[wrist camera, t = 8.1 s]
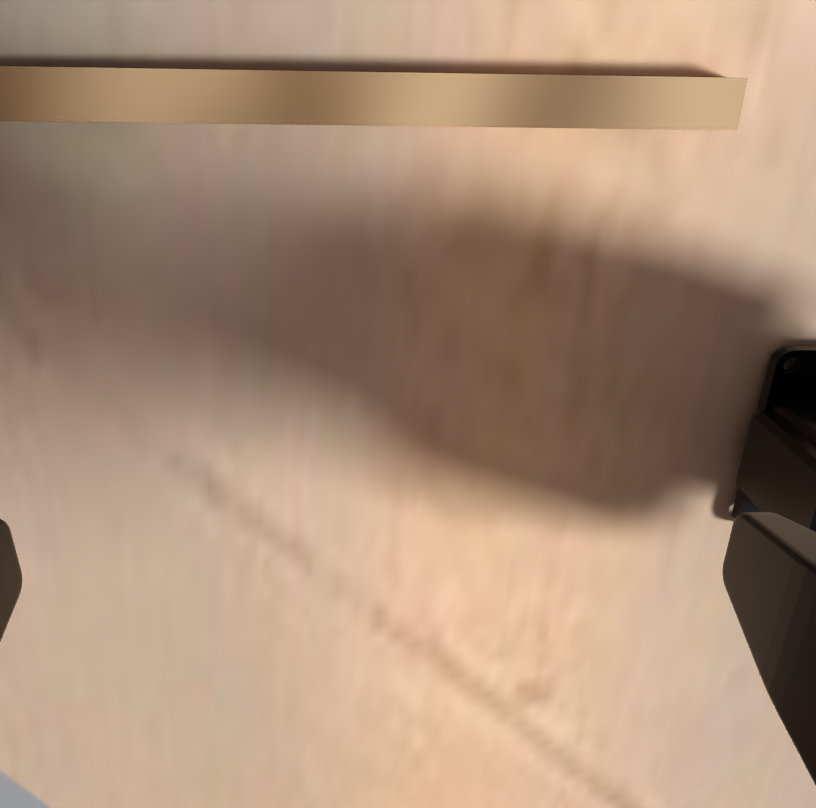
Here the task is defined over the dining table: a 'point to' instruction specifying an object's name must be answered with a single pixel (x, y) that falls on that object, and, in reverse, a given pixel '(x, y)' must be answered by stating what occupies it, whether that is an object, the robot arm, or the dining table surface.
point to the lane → (368, 98)
